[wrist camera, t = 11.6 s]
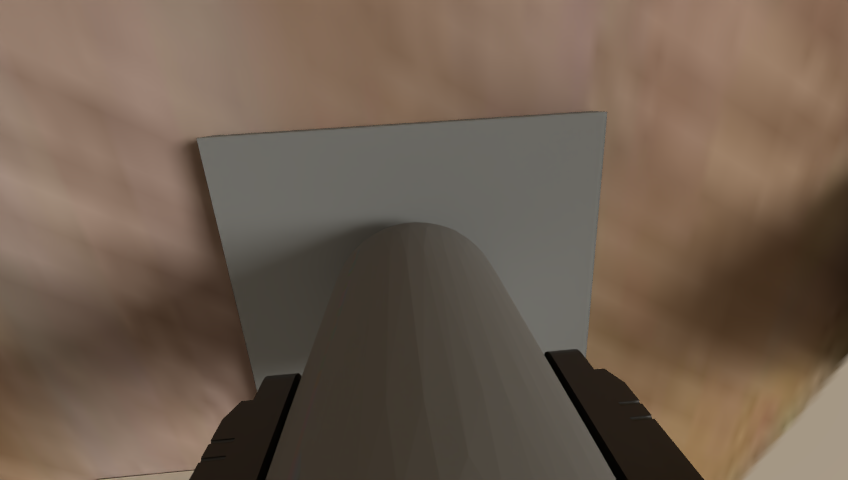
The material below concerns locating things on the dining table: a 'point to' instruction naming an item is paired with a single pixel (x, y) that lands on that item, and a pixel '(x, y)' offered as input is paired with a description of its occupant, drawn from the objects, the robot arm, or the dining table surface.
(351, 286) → the bottle
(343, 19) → the dining table surface
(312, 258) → the mat
